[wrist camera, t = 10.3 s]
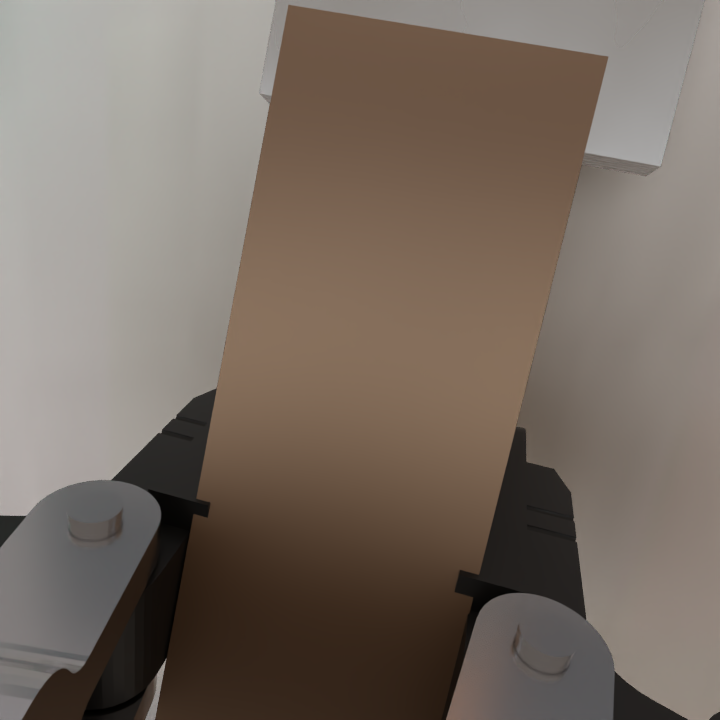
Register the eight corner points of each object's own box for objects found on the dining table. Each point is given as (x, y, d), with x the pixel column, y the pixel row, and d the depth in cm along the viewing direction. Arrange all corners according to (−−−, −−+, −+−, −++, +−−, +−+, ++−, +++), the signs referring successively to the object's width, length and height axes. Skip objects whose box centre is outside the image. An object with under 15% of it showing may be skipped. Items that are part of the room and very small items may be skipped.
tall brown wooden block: (452, 906, 12) (445, 1273, 7) (143, 802, 13) (-30, 1077, 8) (758, -251, 9) (1022, -744, 5) (348, -293, 10) (257, -746, 6)
